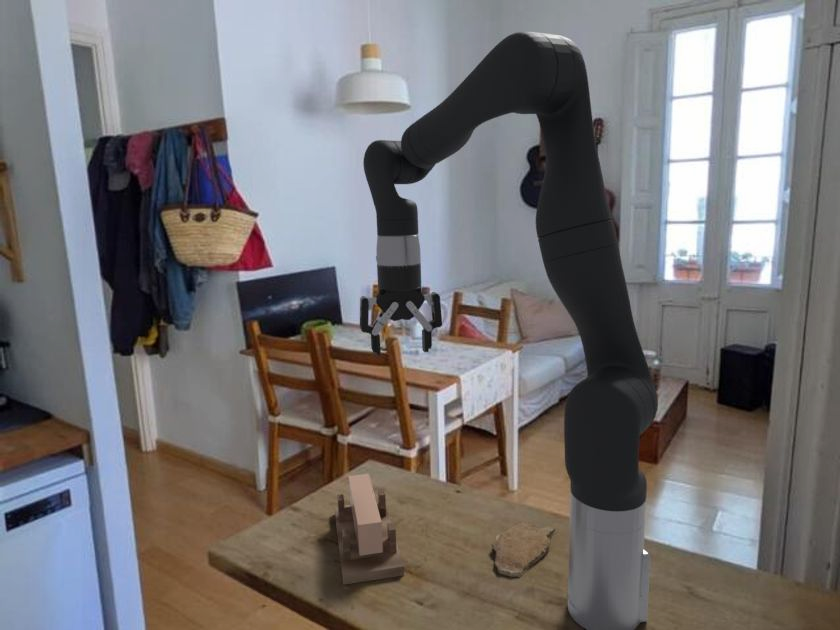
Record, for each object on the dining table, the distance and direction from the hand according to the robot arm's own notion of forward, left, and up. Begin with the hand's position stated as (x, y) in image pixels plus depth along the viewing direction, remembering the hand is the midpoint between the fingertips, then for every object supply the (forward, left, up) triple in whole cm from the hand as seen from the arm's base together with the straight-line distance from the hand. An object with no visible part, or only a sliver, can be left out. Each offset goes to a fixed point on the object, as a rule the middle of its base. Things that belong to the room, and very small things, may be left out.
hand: (402, 353), depth 103 cm
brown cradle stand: (+9, +12, -28) cm, 32 cm away
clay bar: (+9, +12, -25) cm, 29 cm away
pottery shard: (-15, +20, -29) cm, 38 cm away
